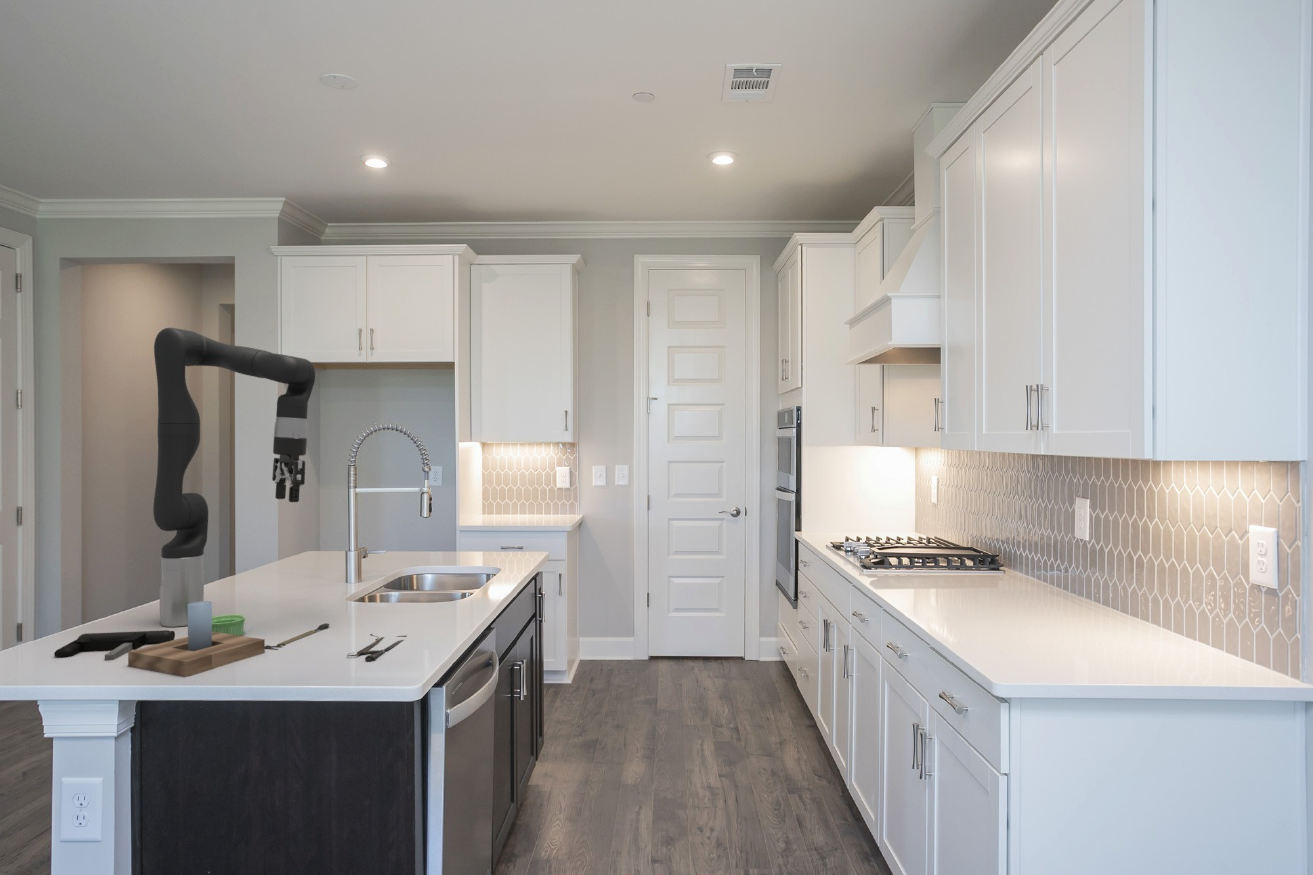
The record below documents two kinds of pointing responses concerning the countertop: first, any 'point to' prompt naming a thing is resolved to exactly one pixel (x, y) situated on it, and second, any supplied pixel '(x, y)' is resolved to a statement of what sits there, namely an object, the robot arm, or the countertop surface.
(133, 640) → the black angled piece
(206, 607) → the pin
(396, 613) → the countertop surface
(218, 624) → the ramekin
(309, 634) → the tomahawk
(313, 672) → the countertop surface
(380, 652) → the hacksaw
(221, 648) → the socket block
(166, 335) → the robot arm
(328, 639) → the countertop surface
